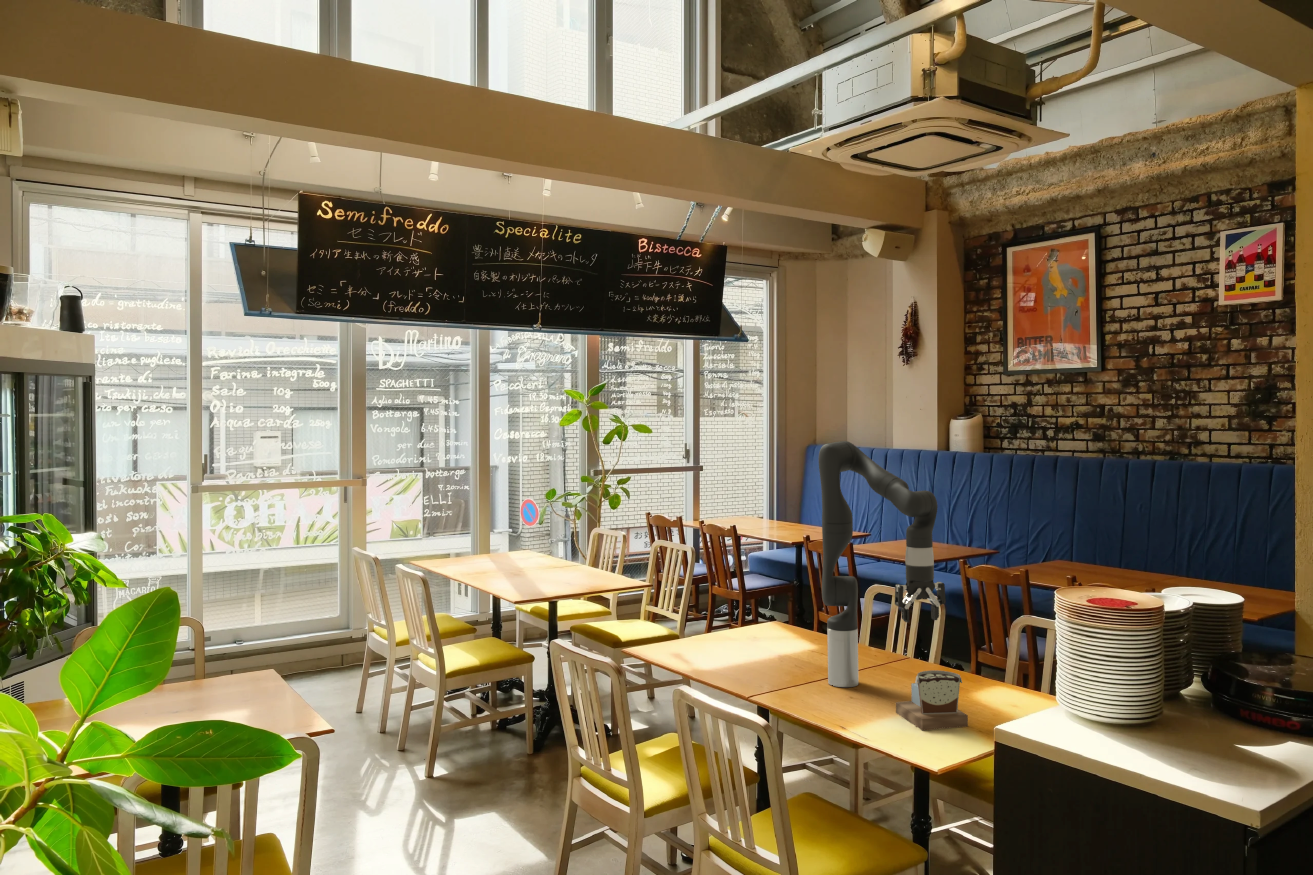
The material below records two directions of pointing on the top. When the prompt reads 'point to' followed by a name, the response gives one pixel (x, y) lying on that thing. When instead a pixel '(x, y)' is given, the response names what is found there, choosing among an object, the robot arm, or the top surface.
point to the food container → (938, 691)
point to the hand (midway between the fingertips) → (920, 620)
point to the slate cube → (915, 694)
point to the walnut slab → (930, 717)
